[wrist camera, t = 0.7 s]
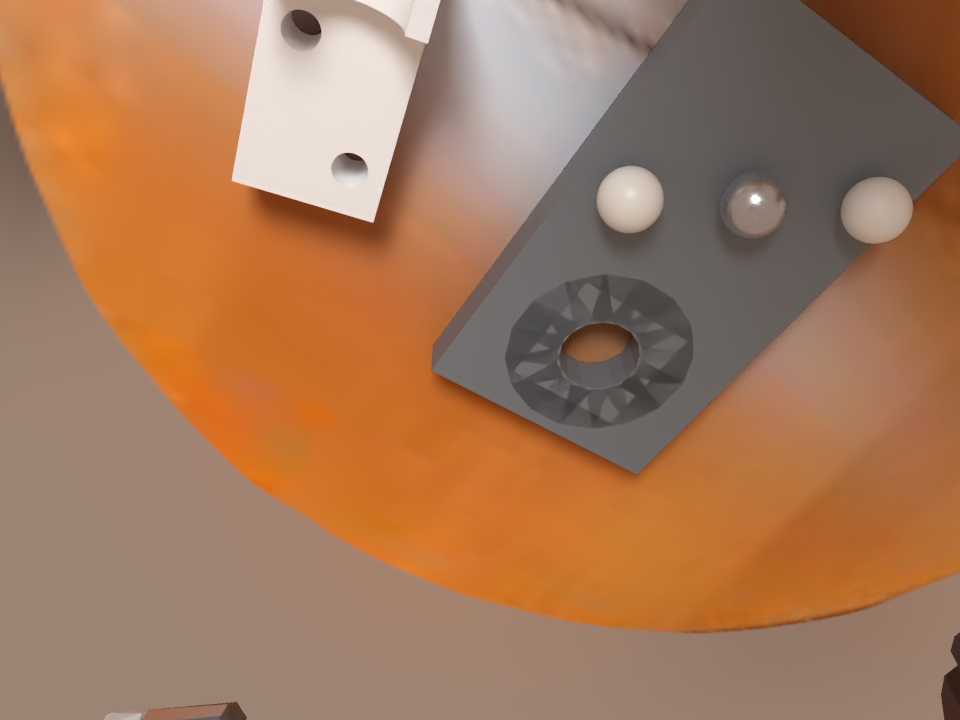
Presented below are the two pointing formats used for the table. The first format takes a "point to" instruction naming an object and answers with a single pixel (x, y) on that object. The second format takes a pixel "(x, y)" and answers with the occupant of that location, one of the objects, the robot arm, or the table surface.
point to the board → (692, 226)
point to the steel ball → (753, 204)
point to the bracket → (330, 99)
